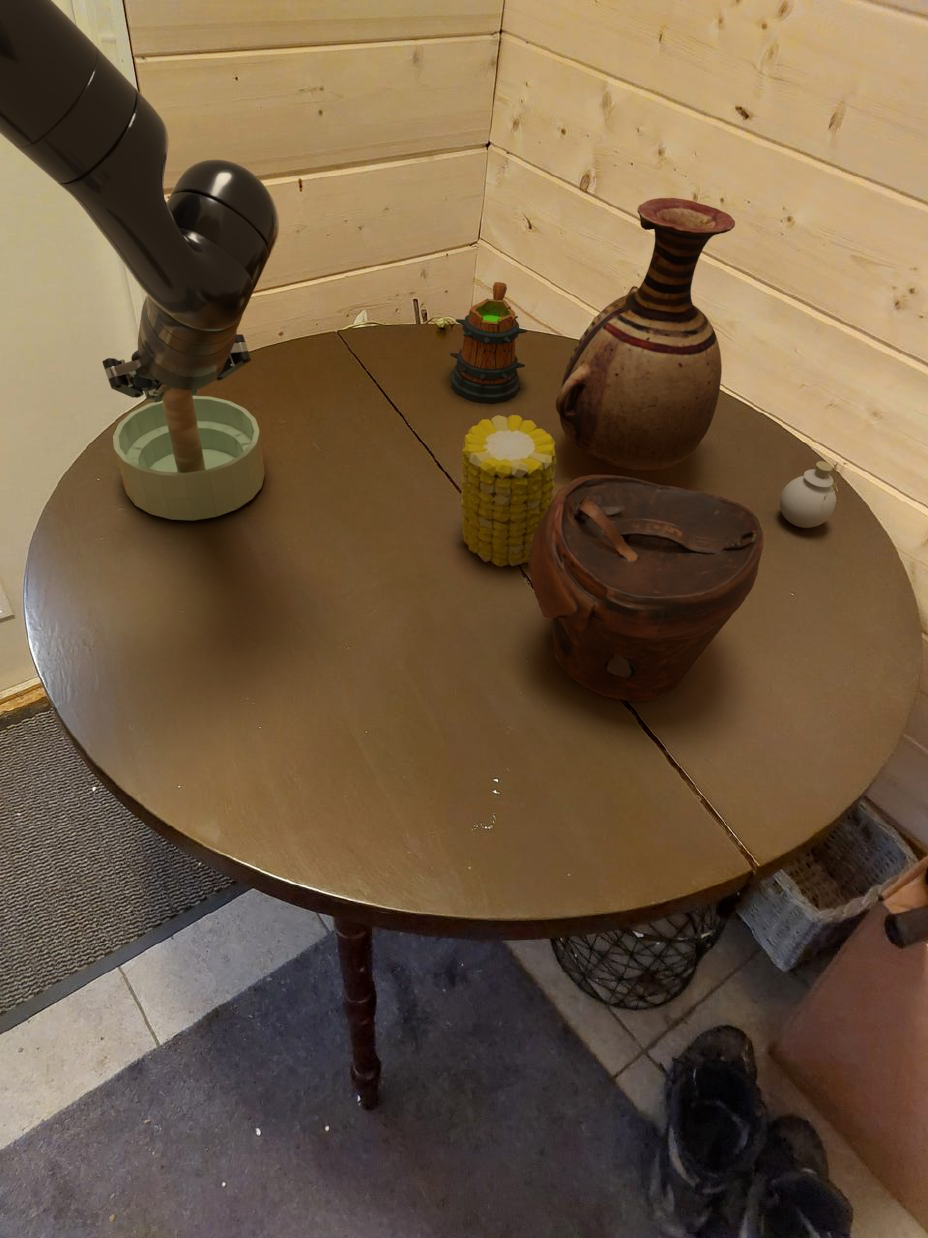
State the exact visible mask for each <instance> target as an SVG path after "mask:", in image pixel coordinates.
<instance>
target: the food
mask: <svg viewBox="0 0 928 1238" xmlns="http://www.w3.org/2000/svg"><path fill="white" fill-rule="evenodd" d="M556 444H557V443H556V442H555V440H554V438H553V437H552V436H551V434H550V433H548V432H547V431H545V430H544V429H543V428H538V427H537V425H536V424H535V422H534V421H533V420H531V419H530V420H529V419H528V420H526V419H525V420H523V418H522V417H521V416H520V415H518V414H517V415H516V414H510V415H509V416H508V417H506V416H503V415H500V414H497V415H495V416H493V417H492V418H491V419H486V418H485V419H483V418H482V419H481V420H480V421H479V422H478V424H477V425H472V426H471V427H470V428H469V430H468V431H467V434H465V435H464V439H463V443H462V449H461V455H462V458H461V459H462V460H461V464H462V465H461V470H462V474H461V476H460V480H461V481H462V482H461V489H462V490H461V493H460V496H461V498H462V499H461V508H462V509H461V511H462V512H461V514H462V523H461V527H462V535H463V542H464V543H465V544H466V545H467V546H468V550H469V551H470V552H471V553H473V554H477V556H479V558H480V559H481V560H482V561H483V562H484V563H488V562H490V561H491V562H492V564H493V565H495V566H497V567H500V568H503V567H505V566H507V565H509V566H511V567H515V566H517V565H521V564H526V563H529V554H530V548H531V545H532V540H533V537H534V534H535V531H536V529H537V527H538V525H539V523H540V522H541V520H542V519H543V517H544V515H545V514H546V512H547V510H548V509H549V507H550V505H551V503H552V501H553V499H554V493H553V490H554V488H555V482H554V480H555V475H556V472H555V471H554V470H555V466H556V465H557V459H556V456H557V455H556V450H555V446H556Z"/></svg>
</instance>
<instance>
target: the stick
mask: <svg viewBox="0 0 928 1238" xmlns="http://www.w3.org/2000/svg"><path fill="white" fill-rule="evenodd" d="M192 396H193V395H192V392H191V390H181V389H176V388H173V387H171V389H170V390H169V391H163V396H162V402H163V407H164V412H165V416H166V421H167V426H168V430H169V435H170V440H171V444H172V449H173V454H174V458H175V463H176V468H177V472H178V473H187V472H194V471H201V470H206V468H205V462H204V457H203V452H202V446H201V441H200V435H199V430H198V424H197V419H196V414H195V408H194V403H193V397H192Z"/></svg>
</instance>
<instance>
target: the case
mask: <svg viewBox="0 0 928 1238" xmlns="http://www.w3.org/2000/svg"><path fill="white" fill-rule="evenodd" d="M763 549H764V531H763V529H762V527H761V524H760V521H759V519H758V518H757V516H756V515H755V513H754V512H753V511H751V509H749V508H748V507H746V506H745V505H742V504H741V503H739V502H735V501H733V500H729V499H727V498H725V497H722V496H718V495H716V494H713V493H709V492H705V491H699V490H691V489H690V490H689V489H687V488H682V487H679V486H673V485H666V484H665V485H662V484H658V483H654V482H651V481H647V480H643V479H640V478H634V477H630V476H623V475H614V474H591V475H590V474H589V475H584V476H580V477H577V478H575V479H573V480H571V481H569V482H568V483H567V484H565V485H564V486H563V487H561V489H560V490H558V492H556V494H555V496H553V500H552V503H551V505H550V507H549V509H548V510H547V512H546V514H545V515H544V517H543V519H542V520H541V522H540V523H539V525H538V527H537V529H536V531H535V534H534V537H533V540H532V545H531V548H530V554H529V562H528V571H529V578H530V583H531V585H532V590H533V592H534V593H533V594H534V596H535V597H536V600H537V604H538V607H539V609H540V611H541V615H542V616H543V617H544V618H545V619H549V620H551V622H552V633H553V635H552V636H553V641H552V642H553V643H552V645H553V646H552V647H553V650H554V655H555V657H556V660H557V661H558V664H559V665H560V666H561V668H562V669H563V671H564V672H565V673H566V674H567V675H568V676H570V677H571V678H572V679H573V680H574V681H575V682H577V683H578V684H579V685H581V686H583V687H584V688H586V689H588V690H590V691H592V692H594V693H596V694H599V695H601V696H603V697H607V698H611V699H615V700H621V701H628V702H629V701H630V702H641V701H651V700H655V699H659V698H660V697H664V696H666V695H668V694H669V693H670V692H671V691H673V690H674V689H675V688H676V687H678V685H679V684H680V683H681V682H682V681H683V679H684V678H685V677H686V676H687V675H688V674H689V672H690V671H691V670H692V668H693V667H694V665H695V664H696V663H697V661H698V660H699V659H700V658H701V656H702V655H703V654H704V652H705V651H706V650H707V648H708V647H709V645H710V644H711V643H712V641H713V640H714V639H715V638H716V636H717V635H718V633H719V632H720V631H721V630H722V629H723V627H724V626H725V625H726V624H727V623H728V621H729V620H730V619H731V617H732V616H733V615H734V613H735V612H737V610H738V609H739V608H740V607H741V606H742V605H743V603H744V601H745V600H746V598H747V596H748V595H749V594H750V593H751V591H752V590H753V588H754V585H755V582H756V579H757V576H758V573H759V566H760V561H761V558H762V553H763Z"/></svg>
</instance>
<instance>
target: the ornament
mask: <svg viewBox="0 0 928 1238" xmlns="http://www.w3.org/2000/svg"><path fill="white" fill-rule="evenodd" d="M838 463H839V462H836V463H833V465H832V464H831V463H829V462H827V461H823V460H820V461H817V462H816V464H815V468H814V469H807V470H806V471H804V473H803V475H801V476H798V477H796V478H794V479H792V480H790V481H789V482H788V483H787V484H786V485H785V486H784V488H783V489H782V491H781V494H780V498H779V509H780V512H781V514H782V516H783V518H784V519H785V520H786V521H787V522H788V523H790V525H793V526H794V527H798V528H804V529H810V528H815V527H818V526H820V525H822V524H824V523H825V522H827V521H828V520H829V519H830V518H831V516H833V515H832V514H833V513H834V511H835V509H836V504H837V495H836V491H837V492H838V491H839V490H838V487H837V485H838V482H839V479H837V480H836V482H834V478H833V477H832V476H831V475H830V473H831V471H832V473H834V471H838V468H837V466H838ZM835 490H836V491H835Z"/></svg>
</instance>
